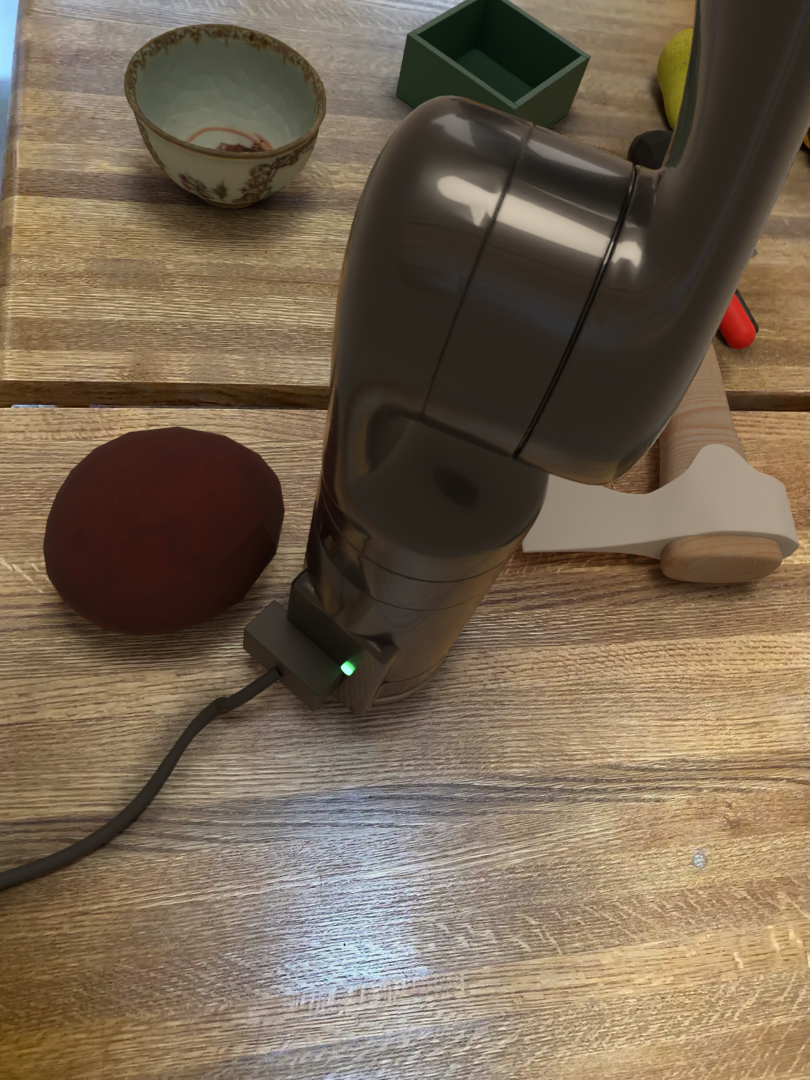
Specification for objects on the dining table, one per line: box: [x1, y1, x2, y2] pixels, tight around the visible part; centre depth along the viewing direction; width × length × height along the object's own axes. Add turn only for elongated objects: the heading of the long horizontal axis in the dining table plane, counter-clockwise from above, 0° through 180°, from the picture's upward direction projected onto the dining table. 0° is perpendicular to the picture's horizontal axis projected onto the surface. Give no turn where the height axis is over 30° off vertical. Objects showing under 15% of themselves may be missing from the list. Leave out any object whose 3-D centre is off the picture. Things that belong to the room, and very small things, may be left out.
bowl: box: [123, 23, 327, 210], centre depth 62 cm, size 14×13×8 cm
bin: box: [395, 0, 591, 129], centre depth 73 cm, size 11×11×6 cm
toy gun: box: [718, 248, 760, 350], centre depth 63 cm, size 10×12×5 cm
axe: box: [521, 341, 800, 584], centre depth 61 cm, size 18×5×30 cm
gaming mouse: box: [628, 129, 673, 170], centre depth 72 cm, size 6×15×4 cm, turn 6°
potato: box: [42, 425, 286, 637], centre depth 46 cm, size 11×13×10 cm
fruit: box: [656, 26, 693, 131], centre depth 78 cm, size 6×6×12 cm
